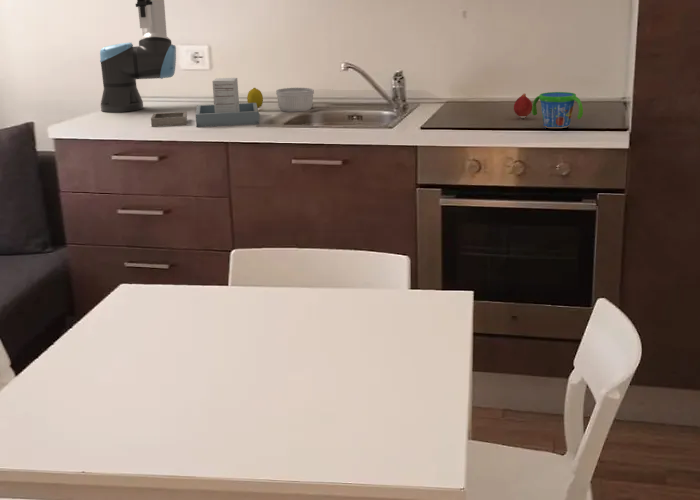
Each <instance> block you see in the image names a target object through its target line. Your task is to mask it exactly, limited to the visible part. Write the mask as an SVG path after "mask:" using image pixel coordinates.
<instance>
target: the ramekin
mask: <svg viewBox="0 0 700 500" xmlns="http://www.w3.org/2000/svg"><path fill="white" fill-rule="evenodd" d="M275 93H276V97H277V98H276V99H277V104H278V108H279V109H280V111H282V112H287V113H288V112H291V113H293V112H294V113H295V112H296V113H297V112H306V111H310V110H311V109H312V107H313V102H314V101H313V99H314V94H315V91H314V89H313V88H310V87H287V88H286V87H283V88H279V89H276V91H275Z"/></svg>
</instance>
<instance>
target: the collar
mask: <svg viewBox="0 0 700 500" xmlns="http://www.w3.org/2000/svg"><path fill="white" fill-rule="evenodd" d="M187 121H188V112H187V111H181V112H180V111H178V112H161V113H159V112H157V113H155V112H154V113H153V114H152V116H151V117H150V124H151V127H164V126H163V125H172V126H186V125H187V123H188V122H187Z"/></svg>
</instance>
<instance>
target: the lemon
mask: <svg viewBox="0 0 700 500" xmlns="http://www.w3.org/2000/svg"><path fill="white" fill-rule="evenodd" d="M246 100H247V103H256V104H257V108H258V109H260V108H261V107H262V105H263V103H264V96H263V93H262V91H261V90H260V89H258V88H256V87H253V88H252V89H250V90H249V91H248V92H247V97H246Z"/></svg>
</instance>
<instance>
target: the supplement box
mask: <svg viewBox="0 0 700 500" xmlns="http://www.w3.org/2000/svg"><path fill="white" fill-rule="evenodd" d="M238 82H239V81H238V77H216V78H214V79H213V80H212V92H213V105H214V109H215V113H228V112H240V110H239V103H240V98H239V97H240V96H239V85H238Z"/></svg>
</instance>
